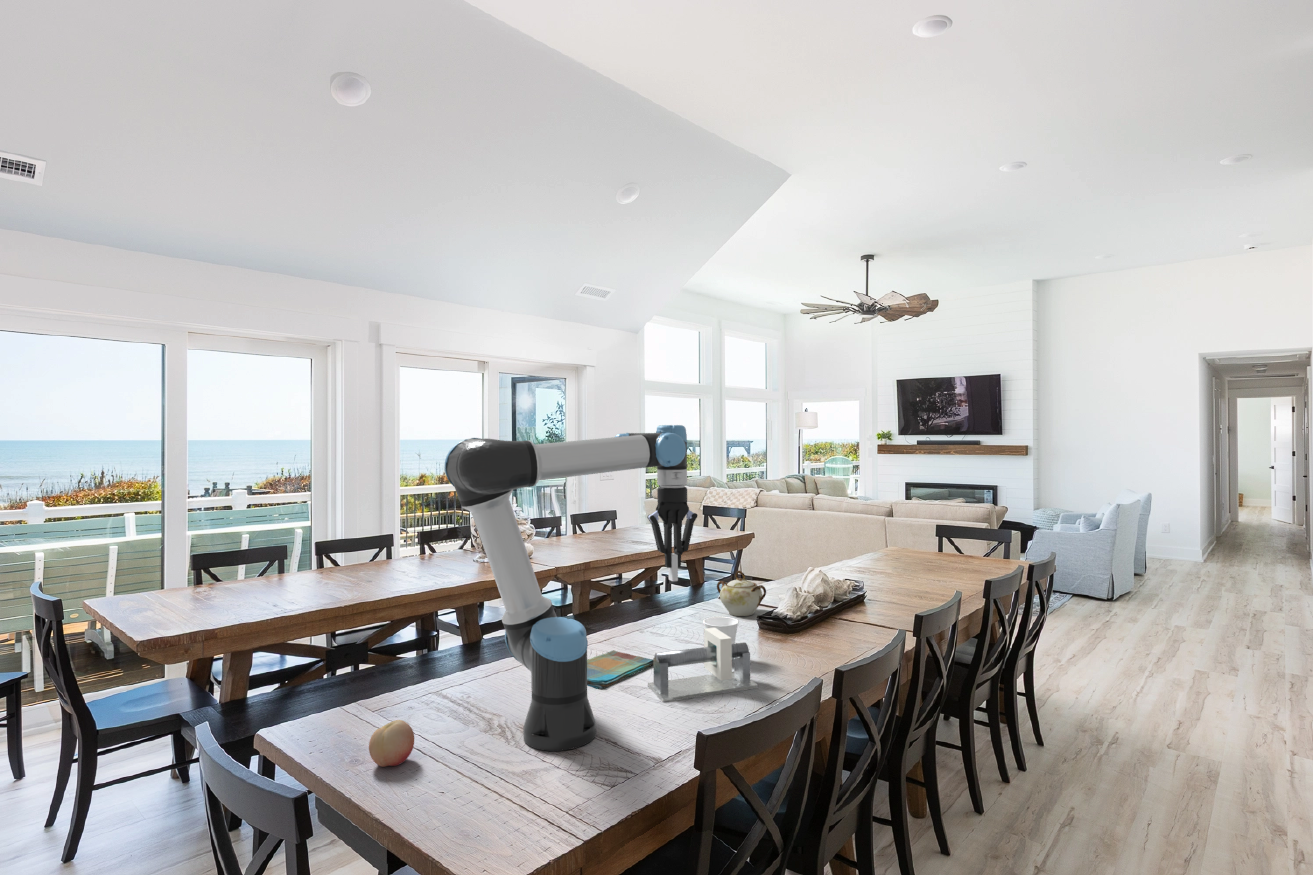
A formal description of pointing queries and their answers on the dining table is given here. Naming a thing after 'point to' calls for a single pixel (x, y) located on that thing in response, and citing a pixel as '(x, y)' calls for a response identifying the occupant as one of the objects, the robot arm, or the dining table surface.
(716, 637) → the collar
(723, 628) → the cup
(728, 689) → the pipe rig
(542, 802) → the dining table surface
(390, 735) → the fruit
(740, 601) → the sugar bowl
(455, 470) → the robot arm
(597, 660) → the dish towel
